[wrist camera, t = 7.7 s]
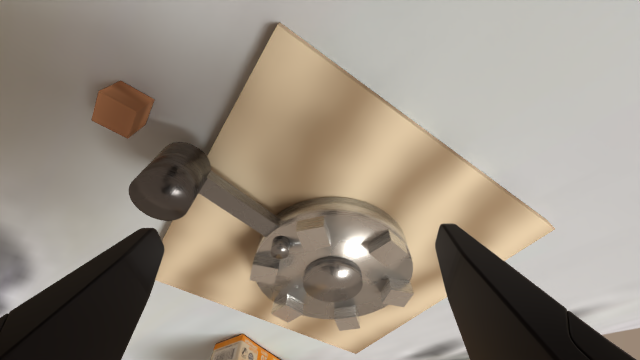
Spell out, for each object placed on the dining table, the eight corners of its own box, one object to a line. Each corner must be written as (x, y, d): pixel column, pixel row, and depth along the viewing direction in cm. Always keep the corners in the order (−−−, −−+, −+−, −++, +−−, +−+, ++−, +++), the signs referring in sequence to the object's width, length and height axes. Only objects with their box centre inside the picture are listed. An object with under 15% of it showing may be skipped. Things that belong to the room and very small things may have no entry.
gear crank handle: (436, 256, 24) (456, 306, 20) (330, 313, 28) (331, 362, 25) (225, 71, 16) (195, 98, 12) (129, 195, 21) (86, 241, 17)
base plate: (75, 238, 25) (57, 256, 23) (162, -65, 13) (138, -72, 12) (355, 344, 34) (356, 363, 32) (546, 220, 23) (564, 238, 21)
